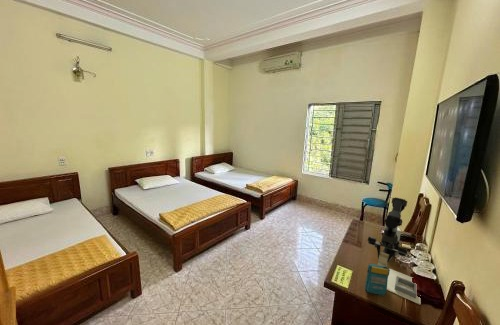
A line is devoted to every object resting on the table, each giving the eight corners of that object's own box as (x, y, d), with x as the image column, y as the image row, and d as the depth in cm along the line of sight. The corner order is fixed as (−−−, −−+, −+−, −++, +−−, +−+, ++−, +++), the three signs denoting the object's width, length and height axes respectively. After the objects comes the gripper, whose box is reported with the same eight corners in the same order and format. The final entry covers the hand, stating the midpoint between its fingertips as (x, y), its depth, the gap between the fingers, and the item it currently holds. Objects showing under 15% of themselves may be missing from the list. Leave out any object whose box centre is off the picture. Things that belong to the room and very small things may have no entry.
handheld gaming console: (383, 291, 112) (388, 266, 108) (386, 297, 108) (391, 272, 105) (363, 287, 114) (368, 263, 111) (365, 293, 110) (370, 268, 107)
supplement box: (395, 241, 159) (398, 226, 156) (398, 246, 152) (401, 231, 149) (383, 239, 161) (386, 224, 159) (386, 244, 154) (389, 229, 152)
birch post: (377, 266, 121) (380, 251, 119) (385, 270, 118) (389, 254, 116) (376, 270, 118) (379, 254, 116) (384, 273, 115) (387, 258, 113)
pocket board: (389, 269, 128) (389, 264, 128) (420, 281, 119) (421, 276, 119) (385, 289, 113) (386, 284, 112) (420, 304, 104) (421, 299, 103)
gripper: (370, 223, 122) (363, 248, 116) (410, 236, 110) (404, 265, 104) (371, 230, 129) (364, 254, 123) (409, 243, 117) (403, 270, 112)
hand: (382, 260), depth 115 cm, fingers closed on birch post, 4 cm apart
